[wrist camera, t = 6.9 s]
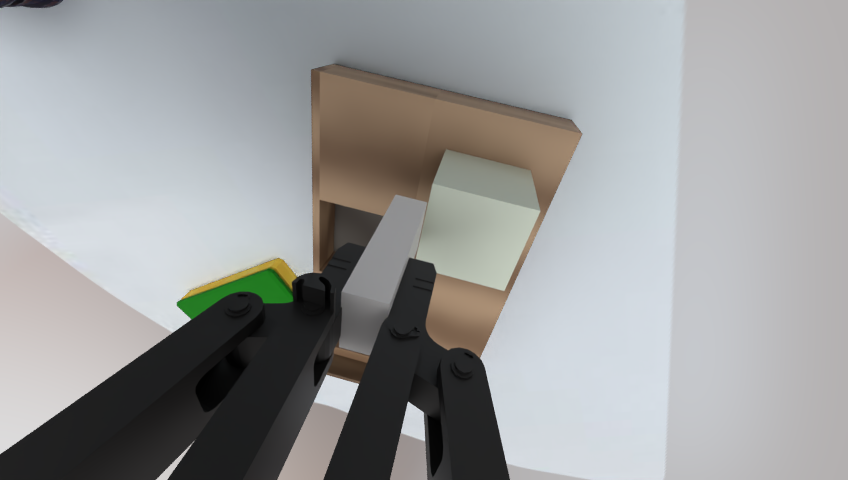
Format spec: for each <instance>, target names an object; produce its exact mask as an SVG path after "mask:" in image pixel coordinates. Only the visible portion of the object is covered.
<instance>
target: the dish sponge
mask: <svg viewBox="0 0 848 480" xmlns="http://www.w3.org/2000/svg"><path fill="white" fill-rule="evenodd" d="M296 278H297V276H296V275H295V274H294V273H293V272H292V270H291V269H290V268H289V267H288V265H287V264H286V263H285V262H284V260H282V259H279V258H277V259H274V260H272V261H269V262H266V263H264V264H261V265H258V266H256V267H253V268H250V269H247V270H245V271H242V272H239V273H237V274H234V275H231V276H229V277H226V278H223V279H221V280H218V281H215V282H212V283H210V284H207V285H204V286H202V287H199V288H196V289H194V290H191V291H190V292H188V293H187V294H186V295H185V296H184V297H183V298H182V299H181V300H180V301H178V302H177V306H178V307H179V308H180V309H181V310H182V311H183V312H184V313H185V314H186V315H187V316H189V317H190V318H191V319H193V318H195V317H196V316H198V315H199V314H200V313H202V312H203V311H205V310H206V309H208V308H209V307H210V306H212V305H213V304H215V303H216V302H217V301H219V300H220V299H222V298H224V297H225V296H227V295H229V294H232V293H236V292H252V293H255V294H257V295H259V296H260V297H261V298H262V300H263V303H289V302H293V293H292V281H294V280H295V279H296Z"/></svg>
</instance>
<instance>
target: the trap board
mask: <svg viewBox="0 0 848 480" xmlns="http://www.w3.org/2000/svg"><path fill="white" fill-rule="evenodd" d="M311 105H312V193H313V273H322V271H323V270H324V269H325V267H326V266H327V265H328V263H329V261H330V260H331V259H332V257H333V255H334V254H335V252H336V251H337V249H338V248H340V247H341V246H343V245H345V244H346V243H352V244H356V245H360V246H364V247H367V245H368V243H369V242H370V240H371V238H372V236H373V234H374V233H375V231H376V229H377V227H378V225H379V224H380V222H381V220H382V218H383V217H384V215H385V213H386V211H387V209H388V208H389V206H390V204H391V202H392V200H393V199H394V197H395V195H400V196H404V197H408V198H412V199H416V200H420V201H424V202H427V206H428V202H429V197H430V193H431V188H432V184H433V181H434V179H435V176H436V174H437V171H438V168H439V166H440V163H441V161H442V158H443V156H444V153H445V151H446V149H447V150H451V151H455V152H459V153H463V154H467V155H471V156H475V157H479V158H483V159H487V160H491V161H495V162H499V163H503V164H507V165H511V166H515V167H519V168H523V169H527V170H531V174H532V178H533V182H534V186H535V190H536V195H537V199H538V203H539V207H540V213H539V216H538V218H537V220H536V222H535V224H534V227H533V229H532V231H531V233H530V236H529V238H528V240H527V242H526V244H525V247H524V249H523V251H522V253H521V255H520V258H519V260H518V262H517V264H516V266H515V269H514V271H513V273H512V275H511V278H510V280H509V282H508V284H507V286H506V289H505V291H502V290H498V289H495V288H491V287H487V286H483V285H480V284H476V283H472V282H468V281H465V280H461V279H457V278H453V277H450V276H446V275H442V274H438V273H437V275H436V279H435V283H434V288H433V292H432V296H431V301H430V305H429V309H428V314H427V318H426V330H427V332H428V334H429V336H430V337H431V338H432V339H433V341H435V342H436V343H437V344H439V345H440V346H442V347H443V348H445V349H447V350H450V349H451V348H458V347H460V348H464V349H468V350H470V351H472V352H473V353H475V354H476V355H477V356H478V357H479V358H480V357H481V354H482V352H483V350H484V348H485V346H486V344H487V341H488V339H489V337H490V335H491V333H492V330H493V328H494V326H495V324H496V322H497V319H498V317H499V315H500V313H501V311H502V309H503V306H504V304H505V302H506V300H507V298H508V295H509V293H510V291H511V289H512V287H513V284H514V282H515V280H516V278H517V276H518V273H519V271H520V269H521V267H522V265H523V263H524V260H525V258H526V256H527V254H528V252H529V249H530V247H531V245H532V243H533V241H534V238H535V236H536V234H537V232H538V230H539V228H540V225H541V223H542V221H543V219H544V217H545V214H546V212H547V210H548V208H549V206H550V203H551V201H552V199H553V197H554V195H555V193H556V190H557V188H558V186H559V184H560V182H561V179H562V177H563V175H564V173H565V171H566V168H567V166H568V164H569V162H570V160H571V158H572V155H573V153H574V151H575V149H576V147H577V144H578V142H579V140H580V138H581V136H582V133H581V131H580V130H579V129H578V128H577V126H576V125H575V124H574V123H573V121H572V120H569V119H565V118H561V117H556V116H552V115H548V114H544V113H539V112H535V111H531V110H527V109H522V108H518V107H514V106H510V105H505V104H501V103H497V102H493V101H488V100H484V99H480V98H476V97H471V96H467V95H463V94H459V93H454V92H450V91H446V90H442V89H437V88H433V87H429V86H425V85H420V84H416V83H412V82H408V81H403V80H399V79H395V78H391V77H386V76H382V75H378V74H373V73H369V72H365V71H361V70H356V69H352V68H348V67H344V66H339V65H335V64H331V65H327V66H323V67H319V68H315V69H311ZM427 206H426V211H427ZM426 211H425V215H426ZM425 215H424V220H425ZM424 220H423V224H424ZM422 229H423V225H422ZM421 233H422V230H421ZM420 238H421V234H420ZM419 242H420V239H419ZM418 247H419V244H418ZM417 251H418V248H417ZM416 255H417V252H416V254H415V257H414V259H416ZM369 357H370V355H366V354H362V353H359V352H355V351H351V350H348V349H344V348H340V347H339V341H338V343H337V345H336V347H335V349H334V357H333V361H332V363H331V366H330V368H329V370H328V372H327V374H326V375H329V376H333V377H337V378H340V379H344V380H347V381H351V382H354V383H358V384H359V383H360V381H361V378H362V375H363V373H364V370H365V367H366V365H367V362H368V359H369Z"/></svg>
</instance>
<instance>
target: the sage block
mask: <svg viewBox="0 0 848 480" xmlns="http://www.w3.org/2000/svg"><path fill="white" fill-rule="evenodd" d="M539 213H540V207H539V203H538V199H537V195H536V190H535V186H534V182H533V178H532V174H531V170H527V169H523V168H519V167H515V166H511V165H507V164H503V163H499V162H495V161H491V160H487V159H483V158H479V157H475V156H471V155H467V154H463V153H459V152H455V151H451V150H447V149H446V151H445V153H444V156H443V158H442V161H441V163H440V166H439V168H438V171H437V174H436V176H435V179H434V181H433V184H432V188H431V193H430V197H429V202H428V206H427V211H426V215H425V220H424V224H423V229H422V233H421V238H420V242H419V247H418V251H417V255H416V259H418V260H421V261H425V262H429V263H433V264H434V266H435V269H436V272H437V273H438V274H442V275H446V276H450V277H453V278H457V279H461V280H465V281H468V282H472V283H476V284H480V285H483V286H487V287H491V288H495V289H498V290H502V291H505V289H506V286H507V284H508V282H509V280H510V278H511V275H512V273H513V271H514V269H515V266H516V264H517V262H518V260H519V258H520V255H521V253H522V251H523V249H524V247H525V244H526V242H527V240H528V238H529V236H530V233H531V231H532V229H533V227H534V224H535V222H536V220H537V218H538V216H539Z"/></svg>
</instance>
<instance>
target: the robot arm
mask: <svg viewBox="0 0 848 480" xmlns="http://www.w3.org/2000/svg"><path fill="white" fill-rule="evenodd" d="M426 206H427V202H424V201H420V200H416V199H412V198H408V197H404V196H400V195H395V197H394V199H393V200H392V202H391V204H390V206H389V208H388V209H387V211H386V213H385V215H384V217H383V218H382V220H381V222H380V224H379V225H378V227H377V229H376V231H375V233H374V234H373V236H372V238H371V240H370V242H369V243H368V245H367V247H364V246H360V245H356V244H352V243H346V244H345V245H343V246H341V247H340V248H338V249H337V251H336V252H335V254H334V255H333V257H332V259H331V260H330V261H329V263H328V265H327V266H326V267H325V269H324V270H323V271H322V273H307V274H304V275H301V276H299V277H297V278H296V279H295V280H294V281H292V293H293V302H289V303H263V300H262V298H261V297H260V296H259V295H257V294H255V293H252V292H236V293H232V294H229V295H227V296H225V297H224V298H222V299H220V300H219V301H217V302H216V303H215V304H213V305H212V306H210V307H209V308H208V309H206V310H205V311H203V312H202V313H200V314H199V315H198V316H196V317H195V318H193V319H192V320H190V321H189V322H188V323H186V324H185V325H183V326H182V327H181V328H179V329H178V330H176V331H175V332H173V333H172V334H171V335H169V336H168V337H166V338H165V339H163V340H162V341H161V342H160V343H158V344H156V345H155V346H154V347H152V348H151V349H149V350H148V351H147V352H145V353H144V354H142V355H141V356H139V357H138V358H136V359H135V360H134V361H132V362H131V363H129V364H128V365H127V366H125V367H124V368H122V369H121V370H119V371H118V372H117V373H115V374H114V375H112V376H111V377H109V378H108V379H107V380H105V381H104V382H102V383H101V384H100V385H98V386H97V387H95V388H94V389H92V390H91V391H90V392H88V393H87V394H85V395H84V396H82V397H81V398H80V399H78V400H77V401H75V402H74V403H73V404H71V405H70V406H68V407H67V408H65V409H64V410H63V411H61V412H60V413H58V414H57V415H55V416H54V417H53V418H51V419H50V420H49V421H47V422H46V423H44V424H43V425H41V426H40V427H39V428H37V429H36V430H34V431H33V432H31V433H30V434H29V435H27V436H26V437H24V438H23V439H22V440H20V441H19V442H17V443H16V444H14V445H13V446H12V447H10V448H9V449H7V450H6V451H4V452H3V453H1V454H0V480H156V479H157V478H158V477H159V476H160V475H161V474H162V473H163V472H164V471H165V470H166V469H167V468H168V467H169V466H170V464H172V462H174V461H175V460H176V459H177V458H178V457H179V456H180V455H181V454H182V453H183V452H184V451H185V450H186V449H187V447H188V446H190V444H192V442H193V441H194V440H195V439H196V440H195V441H194V443H193V444H192V445H191V447H190V449H189V450H188V451H187V453H186V454H185V455H184V457H183V458H182V460H181V461H180V463H179V464H178V465H177V467H176V468H175V470H174V471H173V473H172V474H171V475H170V477H169V478H168V480H277V479H278V476H279V474H280V472H281V470H282V468H283V466H284V463H285V461H286V459H287V457H288V455H289V453H290V451H291V449H292V447H293V444H294V442H295V440H296V438H297V436H298V434H299V432H300V430H301V427H302V425H303V423H304V421H305V419H306V417H307V415H308V413H309V410H310V408H311V406H312V404H313V402H314V400H315V398H316V395H317V393H318V391H319V389H320V387H321V385H322V383H323V381H324V378H325V376H326V374H327V372H328V370H329V368H330V366H331V363H332V361H333V357H334V349H335V347H336V345H337V343H338V341H339V347H340V348H344V349H348V350H351V351H355V352H359V353H362V354H366V355H370V357H369V359H368V362H367V365H366V367H365V370H364V373H363V375H362V378H361V381H360V383H359V386H358V389H357V391H356V394H355V397H354V399H353V402H352V405H351V407H350V410H349V413H348V415H347V418H346V421H345V423H344V426H343V429H342V431H341V434H340V437H339V439H338V443H337V445H336V448H335V450H334V453H333V455H332V458H331V461H330V464H329V466H328V469H327V472H326V474H325V477H324V480H390V476H391V472H392V467H393V463H394V459H395V455H396V450H397V445H398V442H399V437H400V433H401V429H402V424H403V420H404V416H405V411H406V407H407V403H408V402H410V403H411V404H413V405H414V406H416V407H417V408H419V409H420V410H421V411H423V412H424V424H425V442H426V459H427V477H428V478H427V479H428V480H510V479H509V474H508V469H507V465H506V460H505V456H504V451H503V447H502V442H501V438H500V433H499V429H498V425H497V420H496V416H495V411H494V407H493V402H492V398H491V393H490V389H489V384H488V380H487V375H486V371H485V367H484V365H483V363H482V360H481V359H480V358H479V357H478V356H477V355H476V354H475V353H473V352H472V351H470V350H468V349H464V348H460V347H458V348H451V349H450V350H447V349H445V348H443V347H442V346H440V345H439V344H437V343H436V342H435V341H433V339H432V338H431V337H430V336H429V334H428V332H427V330H426V318H427V314H428V309H429V305H430V301H431V296H432V292H433V288H434V283H435V279H436V275H437V272H436V269H435V266H434V264H433V263H429V262H425V261H421V260H418V259H414V257H415V254H416V252H417V248H418V244H419V239H420V234H421V230H422V225H423V220H424V215H425V211H426Z"/></svg>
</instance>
